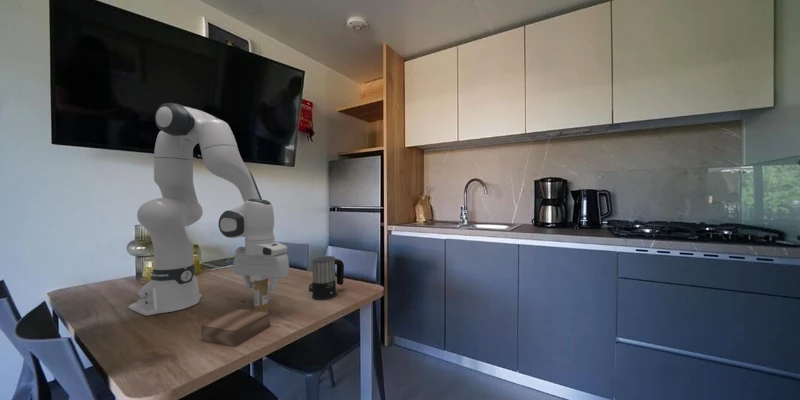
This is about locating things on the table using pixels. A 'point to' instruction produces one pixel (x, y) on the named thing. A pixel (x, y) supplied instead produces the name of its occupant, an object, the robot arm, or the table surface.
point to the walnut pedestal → (235, 327)
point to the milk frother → (326, 277)
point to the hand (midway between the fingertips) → (260, 289)
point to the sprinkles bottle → (260, 293)
